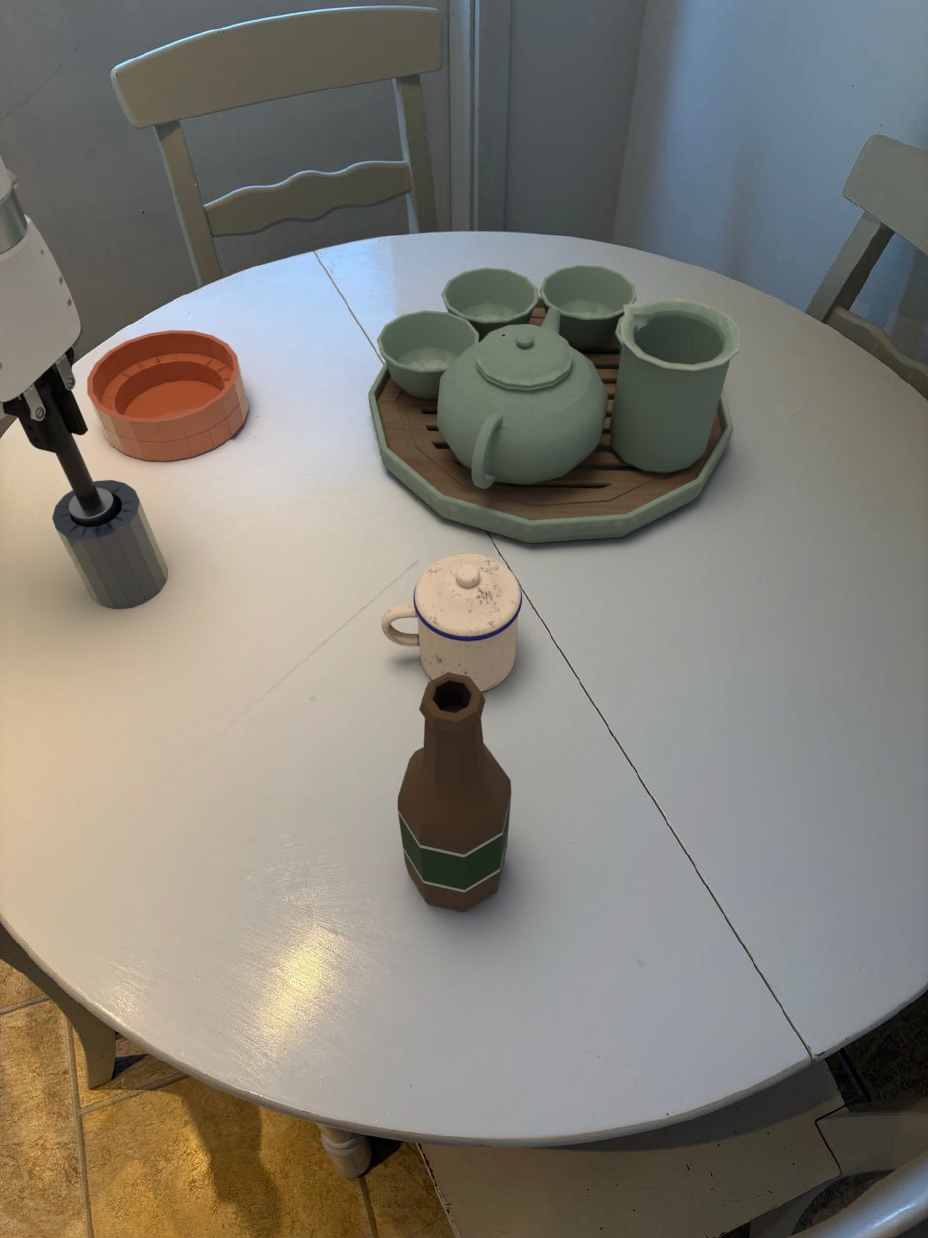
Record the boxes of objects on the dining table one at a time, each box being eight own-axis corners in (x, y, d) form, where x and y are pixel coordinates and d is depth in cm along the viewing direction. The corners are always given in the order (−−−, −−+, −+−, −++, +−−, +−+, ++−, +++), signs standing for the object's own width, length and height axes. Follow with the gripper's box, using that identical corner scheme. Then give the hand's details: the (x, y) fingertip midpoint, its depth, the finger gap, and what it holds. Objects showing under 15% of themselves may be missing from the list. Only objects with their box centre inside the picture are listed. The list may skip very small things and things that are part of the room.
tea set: (696, 321, 113) (726, 192, 100) (749, 554, 88) (798, 423, 75) (385, 316, 114) (375, 188, 101) (351, 546, 89) (331, 415, 76)
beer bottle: (446, 801, 72) (438, 618, 53) (526, 854, 69) (548, 681, 50) (385, 876, 68) (353, 708, 49) (468, 936, 65) (468, 782, 46)
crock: (75, 586, 86) (35, 513, 78) (136, 542, 90) (105, 468, 82) (122, 624, 83) (86, 552, 75) (184, 578, 87) (156, 504, 79)
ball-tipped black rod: (94, 574, 85) (-1, 385, 68) (126, 551, 87) (42, 361, 70) (118, 593, 84) (28, 405, 66) (151, 570, 85) (71, 380, 68)
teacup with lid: (513, 614, 84) (518, 528, 75) (522, 695, 78) (529, 612, 69) (385, 620, 83) (375, 534, 74) (386, 702, 78) (375, 620, 69)
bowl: (75, 423, 101) (56, 380, 96) (187, 356, 109) (174, 313, 104) (166, 486, 95) (151, 442, 90) (278, 410, 102) (269, 366, 98)
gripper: (-8, 158, 63) (78, 373, 78) (-175, 273, 54) (-41, 492, 69) (82, 176, 62) (153, 392, 76) (-73, 297, 53) (41, 516, 67)
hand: (60, 438), depth 72 cm, fingers closed on ball-tipped black rod
